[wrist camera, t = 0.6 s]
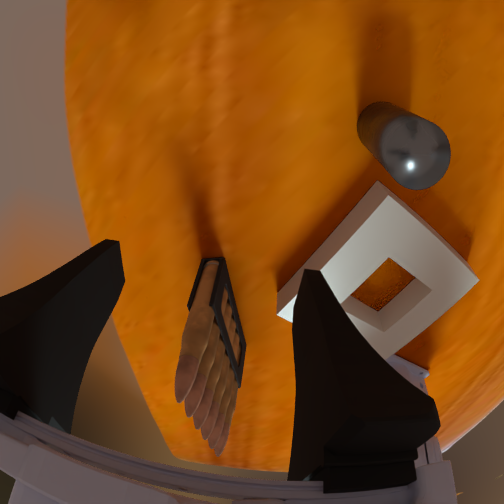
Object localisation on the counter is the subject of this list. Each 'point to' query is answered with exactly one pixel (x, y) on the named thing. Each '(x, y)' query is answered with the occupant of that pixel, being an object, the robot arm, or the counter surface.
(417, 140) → the metal peg
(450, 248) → the socket block
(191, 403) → the ammunition clip
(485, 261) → the counter surface
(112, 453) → the robot arm
